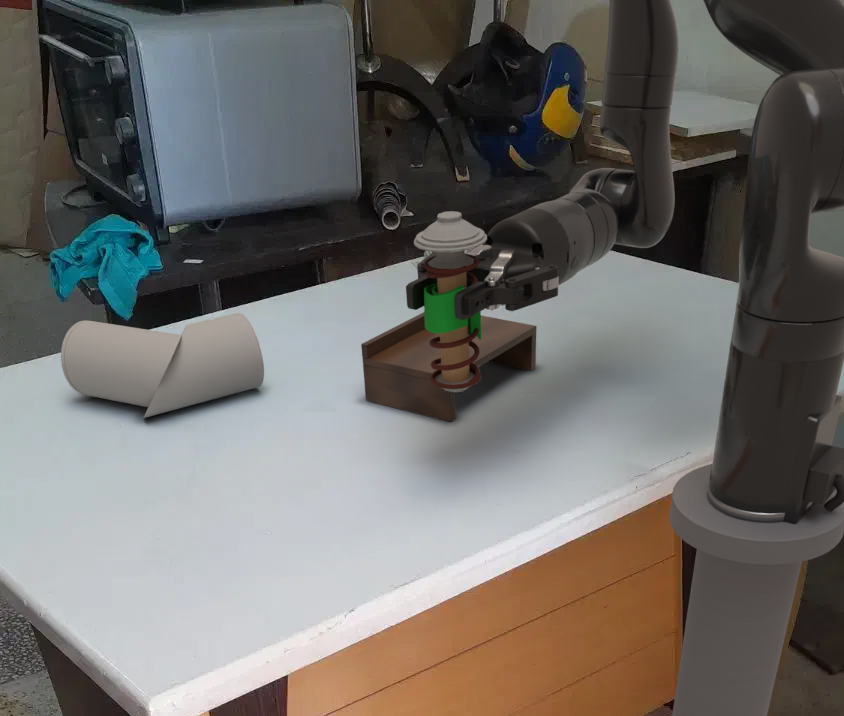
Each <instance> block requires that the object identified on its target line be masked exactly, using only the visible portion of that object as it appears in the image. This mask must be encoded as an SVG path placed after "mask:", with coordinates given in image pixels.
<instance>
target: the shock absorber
mask: <svg viewBox="0 0 844 716" xmlns="http://www.w3.org/2000/svg"><path fill="white" fill-rule="evenodd" d="M462 217H463V215H462V213H461V212H459V211H454V210H451V211H450V210H449V211H443V212H440V213H438V214H437V216H436V221H434V222H433V223H431V224H429V225H428V226H427V227H426V228H425V229H424V230H422V231H420V232H418V233H417V234H416V236H415V238H414V240H413V245H414V247H415V248H417V249H419V250H422V251H431V252H432V253H433V252H437V255H436V256H433V257H431V258H429V259H427V260H426V261H425V262H424V267H425V269H426V270H427V271H426V276H427V277H430V278H437V284H431V285H428V286H426V287H425V288H424V306H423V308H424V309H423V312H424V316H425V328H426V329H427V330H428V331H430V332H432V333H440V337H436V338H433V339H431V340H430V346H432V347H434V348H441V358H439V359H436V360H434V361H432V363H431V367H432V368H433V369H435V370H437V371H435V372H434V373H433V374H432V375H431V376H430V380H431V382H432V383H433V384H434V385H435V386H437V387H440V388H443V389H445V391H449V392H455V393H460V392H465V391H466V390H468V389H470V387H473V386H474V385H476V384H478V383H479V382H481V380H482V374H481V370H480V367H477V366H476V365H475V364H474V363H473V362H474V361H475V360H476V359H477V358H478V356H479V347H478V346H477V345H476V344H475V343H474V342H473V341H472V340H473V339H474V338H475V337H476V336H477V337H478V338H479V339H481V315H482V311H480V312H478V313H476V314H474V315H472V316H471V317H469V318H467V319H465V320H462V319H457V318H456V317H455V303H454V298H455V295H456V293H457V292H459V291H461V290H463V289H465V288H467V278H469V279H470V280H472V282H473V284H475V283H477V282H478V280H477V278H476V277H475V276H474V275H473V274H472V273H470V272H467V271H470V270H472V269H474V268H476V267H477V266H478V264H479V260H478V258H477V257H475V256H473V255H469V254H465V250H469V249H473V248H476V247H479V246H482V245H483V244H484V243H485V242H486V240H487V235H488V234H486V233H485V231H484V230H483V229H482V228H480V227H477V226H475V225H473V224H472V223H470V222H469V221H467V220H465V219H464V218H462ZM473 284H472V285H473ZM468 335H469V336H468ZM437 342H440V343H437ZM469 346H470V347H472V348H473V349H474V351H475V352H474V355H473V356H472V357H470V358H469ZM437 364H441V365H437Z"/></svg>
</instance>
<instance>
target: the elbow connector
mask: <svg viewBox="0 0 844 716" xmlns="http://www.w3.org/2000/svg"><path fill="white" fill-rule="evenodd" d="M60 363H61V369H62V373H63V375H64V377H65V379H66V381H67V383H68V385H69V386H70V387H71V388H72V389H73V391H75V392H76V393H79V394H80V395H83V396H88V397H93V398H99V399H102V400H103V399H104V400H109V401H114V402H119V403H124V404H130V405H135V406H139V407H144V408H145V407H146V408H147V409H146V410H145V414H144V416H143V419H146V418H149V417H154V416H157V415H160V414H164V413H168V412H172V411H175V410H179V409H183V408H187V407H191V406H194V405H197V404H202V403H205V402H208V401H212V400H216V399H219V398H224V397H228V396H231V395H235V394H238V393H243V392H245V391H250V390H254V389H257V388H260V387H261V386H262V385H263V383H264V378H265V366H264V358H263V353H262V349H261V345H260V342H259V339H258V336H257V334H256V332H255V330H254V327H253V326H252V324H251V322H250V320H249V319H248V317H247V316H245V314H243V313H242V312H235V313H231V314H227V315H224V316H223V315H222V316H218V317H214V318H211V319H206V320H201V321H198V322H197V321H196V322H194V323H193V322H192V323H189V324H186V325H185V326H184V329H183V331H182V332H181V334H178V333H173V332H171V333H170V332H165V331H160V330H159V331H158V330H153V329H147V328H146V329H145V328H139V327H134V326H133V327H132V326H127V325H120V324H113V323H106V322H102V321H101V322H100V321H99V322H98V321H94V320H80V321H78V322H76V323H74V324H73V325H72V326H70V328H69V329H68V330H67V332H66V334H65V335H64V338H63V341H62V343H61V350H60Z"/></svg>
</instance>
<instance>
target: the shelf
mask: <svg viewBox="0 0 844 716" xmlns="http://www.w3.org/2000/svg"><path fill="white" fill-rule="evenodd" d="M468 336H469V335H468ZM436 337H440V333H432V332H430V331H428V330H427V329H426V328H425V316H424V311H423V312H422V313H421V312H420V313H419V314H417V315H415V316H413V317H411V318H409V319H408V320H406V321H404V322H402V323H400V324H398V325H396V326H394V327H392V328H389V329H387V330H386V331H384V332H382V333H380V334H378V335H375V336H374V337H372V338H370V339H368V340H366V341H365V342H363V343H361V344H360V346H361V357H362V369H363V380H364V393H365V401H366V402H369V403H373V404H378V405H381V406H385V407H390V408H393V409H397V410H402V411H406V412H409V413H414V414H417V415H422V416H425V417H429V418H433V419H437V420H442V421H444V422H449V423H451V422H454V420H456V419H457V418H456V417H457V414H456V392H449V391H445V389H443V388H440V387H437V386H435V385H434V384H433V383H432V382H431V380H430V376H431V375H432V374H433V373H434V372H435V371H437V370H435V369H433V368H432V367H431V363H432V361H434V360H436V359H439V358H441V348H434V347H432V346H430V340H431V339H433V338H436ZM472 341H473V342H474V343H475V344H476V345H477V346H478V347H479V356H478V358H477V359H476V360H475V361H474V362H473V363H474V364H475V365H476V366H477V367H478V368H480V367H481V366H483V365H484V364H486V363H488V362H489V363H492V364H493V363H494V364H497V365H498V364H499V365H503V366H508V367H512V368H516V369H517V368H518V369H521V370H526V371H533V370H535V369H536V366H537V365H536V362H537V358H536V357H537V325H535V324H529V323H524V322H519V321H514V320H513V321H512V320H507V319H503V318H497V317H492V316H487V315H482V314H481V339H479V338H478V337H477V336H476V337H475V338H474V339H473V340H472ZM437 343H440V342H437ZM474 352H475V351H474V349H473V348H472V347H470V346H469V358H470V357H472V356H473V355H474ZM437 365H441V364H437Z"/></svg>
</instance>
